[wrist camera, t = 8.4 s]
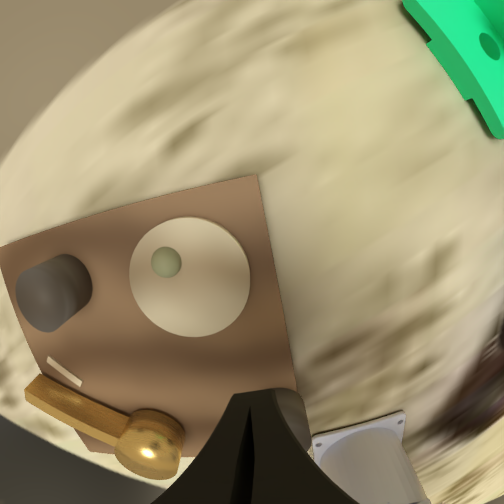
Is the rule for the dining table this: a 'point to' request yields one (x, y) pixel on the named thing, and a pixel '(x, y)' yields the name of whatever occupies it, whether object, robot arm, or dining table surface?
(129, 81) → the dining table surface
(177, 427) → the brass lever handle
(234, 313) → the levelling base
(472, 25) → the green triangular bracket
